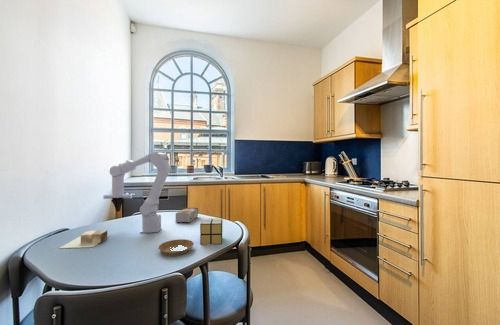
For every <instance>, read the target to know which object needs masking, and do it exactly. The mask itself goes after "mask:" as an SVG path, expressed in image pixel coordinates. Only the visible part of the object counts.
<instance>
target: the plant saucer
mask: <svg viewBox="0 0 500 325" xmlns="http://www.w3.org/2000/svg"><path fill="white" fill-rule="evenodd" d="M178 245H182V246H184V247H187V249H185V250H183V251H171V250H170V249H172V248H173V247H174V248H176V247H178ZM194 245H195V244H194V242H193V241H192V240H189V239H181V238H178V239H172V240H168V241H165V242H163V243H161V244H160V245H158V250H159V251H160V253H162V254H163V255H165V256H171V257H173V256H175V257H176V256H181V254H182V255H184V253H185V254H187V253H188V252H189V251H190V250H191V249H192V248H193V246H194ZM170 247H171V248H170ZM172 250H173V249H172ZM186 252H187V253H186Z"/></svg>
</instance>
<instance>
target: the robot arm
mask: <svg viewBox="0 0 500 325" xmlns="http://www.w3.org/2000/svg"><path fill="white" fill-rule="evenodd" d="M169 162H170V158H169V156H168V155H167V153H165V152H152V153H148V154H145V155H144V156H142V157H140V158H138V159H136V160H129V159H128V160H125V162H123V163H118V165H113V166H111V167H110V168H109V175H111V189H112V190H111V194H103V195H102V196H103V199H104V200H106V199H111V202H112V204H113V207H114V209H115V212H120V211H121V208H122V206H123V203H124V201H125V199H133V194H125V187H124V186H125V182H124V181H125V175H126V174H128V173H130V172H132V171H135V170H136V169H137V167H139V166H142V165H144V164H147V163H151V164H152V165H153V166H154V167H156V168H155V169H156V170H157V171H158V172H157V174H156V177H155V179H154V182H153V184H152V186H151V189H150V192H149V194H148V196H147V198H146V199H145V200H144V202H143V204H142V205H141V206H140V207H139V213H140V215H141V216H142V219H141V220H142V221H141V222H142V226H141V227H142V229H141V230H139V234H143V233H145V234H146V233H147V234H148V233H149V234H150V233H159V232H160V230H161V229H162V216H161V214H158V213H157V212H158V210H159V205H160V204H159V203H160V200H159V199H160V195H161V193H162V190H163V188H164V186H165V183H166V180H167V177H168V175H169V173H170V163H169Z"/></svg>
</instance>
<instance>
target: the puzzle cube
mask: <svg viewBox="0 0 500 325" xmlns="http://www.w3.org/2000/svg"><path fill="white" fill-rule="evenodd" d="M199 225H200V227H199V228H200V229H199V231H200V232H199V234H200V236H199V242H200V243H199V245H200V244H201V245H200V246H203V244H210V245H212V244H215V245H222V244H223V218H222V217H221V218H220V217H219V218H218V217H217V218H214V217H213V218H211V217H210V218H209V217H208V218H202V220H201V222H200V224H199Z"/></svg>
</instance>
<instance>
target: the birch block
mask: <svg viewBox="0 0 500 325" xmlns="http://www.w3.org/2000/svg"><path fill="white" fill-rule="evenodd" d="M107 235H108V229H105V230H87V231H84V232H83V233H81V234H80V236H81V243H98V244H100V243H103V242H104V241H106V240H107V239H108V237H107Z"/></svg>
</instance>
